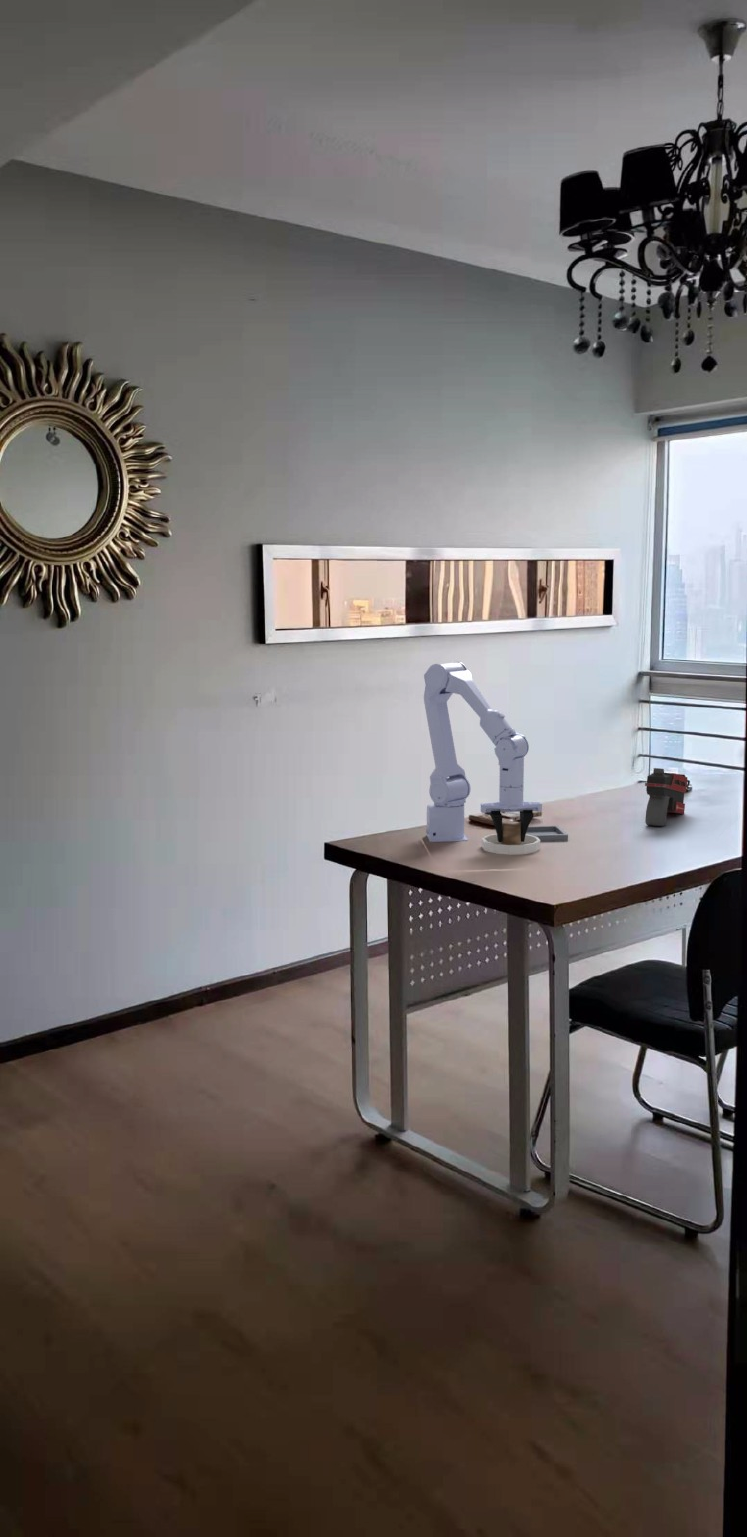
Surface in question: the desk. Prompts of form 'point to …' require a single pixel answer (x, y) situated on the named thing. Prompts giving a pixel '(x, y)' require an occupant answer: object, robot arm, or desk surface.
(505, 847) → the bowl
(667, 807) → the toy gun
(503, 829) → the cylinder
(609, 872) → the desk surface
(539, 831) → the tray
